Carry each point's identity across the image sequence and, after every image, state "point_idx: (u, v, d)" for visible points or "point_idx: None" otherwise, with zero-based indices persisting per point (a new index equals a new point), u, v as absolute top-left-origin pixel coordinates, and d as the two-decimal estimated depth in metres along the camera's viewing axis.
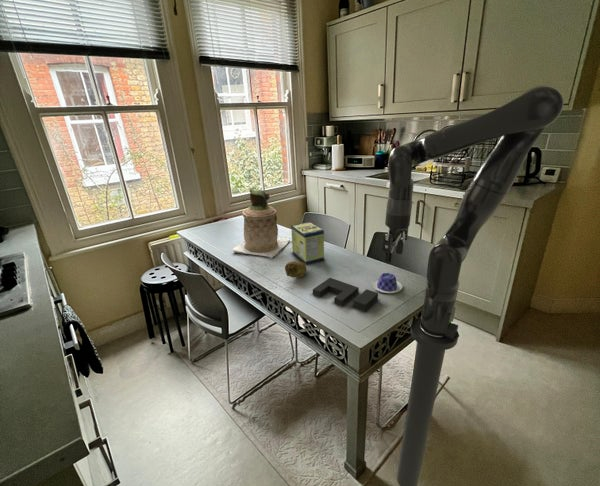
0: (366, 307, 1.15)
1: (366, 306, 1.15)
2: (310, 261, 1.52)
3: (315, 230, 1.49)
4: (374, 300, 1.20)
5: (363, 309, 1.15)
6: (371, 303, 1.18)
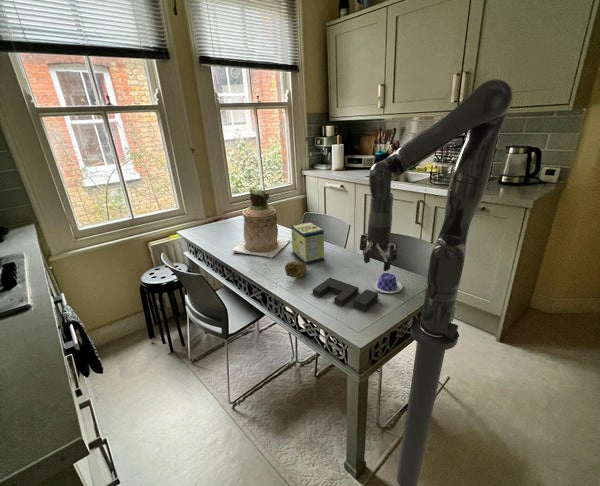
0: (366, 307, 1.15)
1: (366, 306, 1.15)
2: (310, 261, 1.52)
3: (315, 230, 1.49)
4: (374, 300, 1.20)
5: (363, 309, 1.15)
6: (371, 303, 1.18)
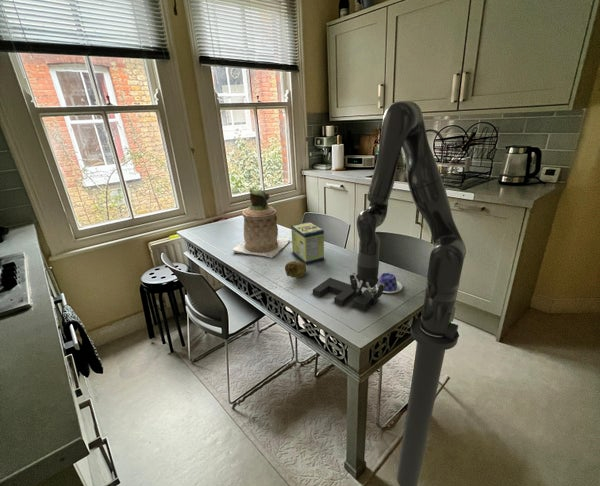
0: (366, 307, 1.15)
1: (366, 306, 1.15)
2: (310, 261, 1.52)
3: (315, 230, 1.49)
4: None
5: (363, 309, 1.15)
6: None
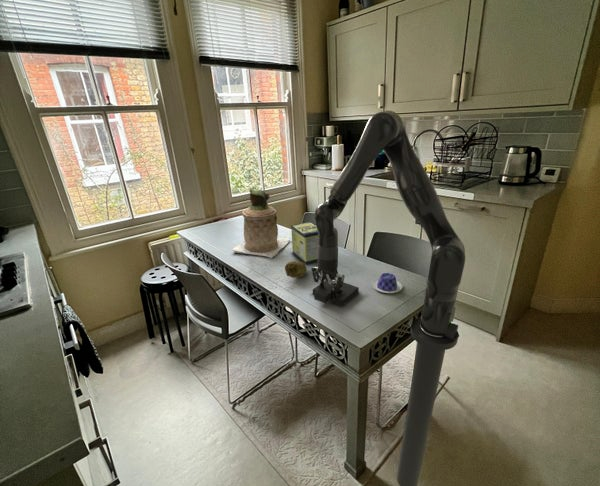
0: (326, 299, 1.18)
1: (326, 298, 1.17)
2: (310, 261, 1.52)
3: (315, 230, 1.49)
4: None
5: (323, 301, 1.18)
6: None
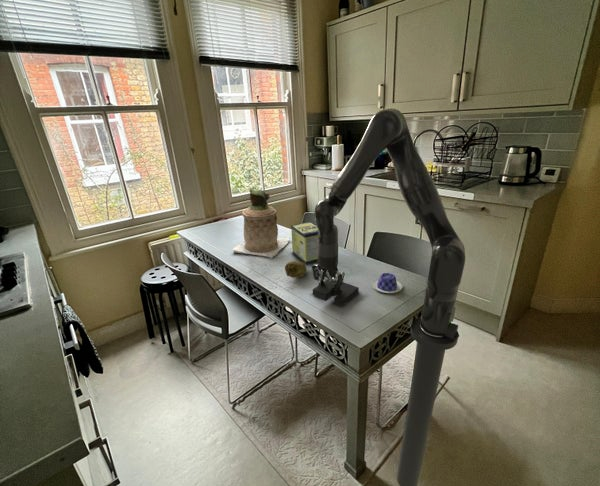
0: (327, 296, 1.17)
1: (326, 295, 1.17)
2: (310, 261, 1.52)
3: (315, 230, 1.49)
4: None
5: (324, 298, 1.17)
6: None
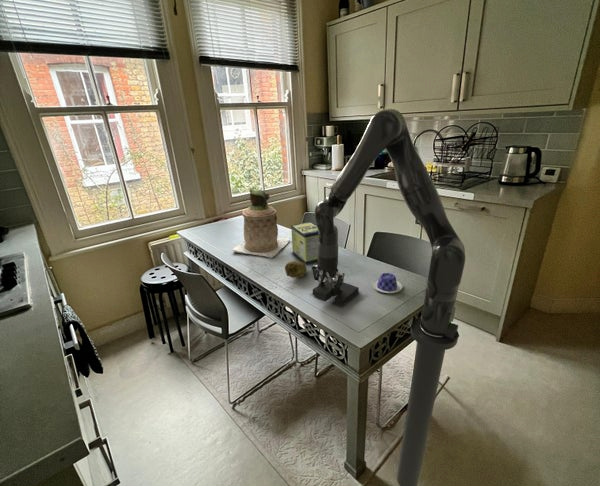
0: (326, 297, 1.17)
1: (326, 296, 1.17)
2: (310, 261, 1.52)
3: (315, 230, 1.49)
4: None
5: (323, 299, 1.17)
6: None
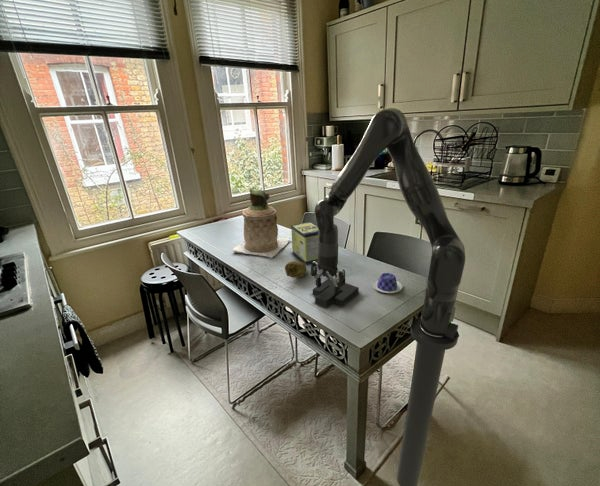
0: (327, 303, 1.18)
1: (327, 302, 1.18)
2: (310, 261, 1.52)
3: (315, 230, 1.49)
4: None
5: (324, 305, 1.18)
6: (333, 299, 1.21)
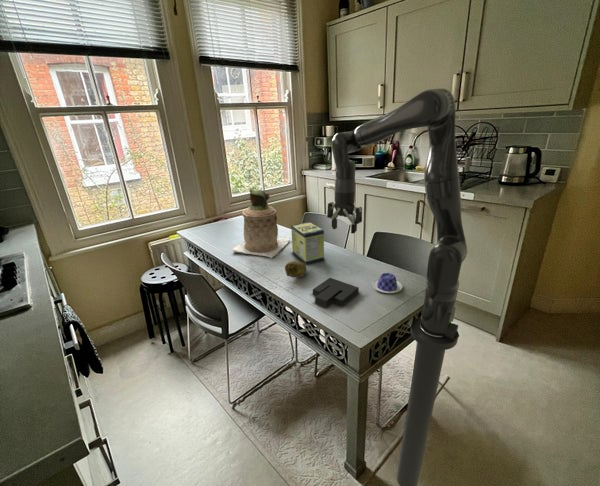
0: (327, 303, 1.18)
1: (327, 302, 1.18)
2: (310, 261, 1.52)
3: (315, 230, 1.49)
4: None
5: (324, 305, 1.18)
6: (333, 299, 1.21)
